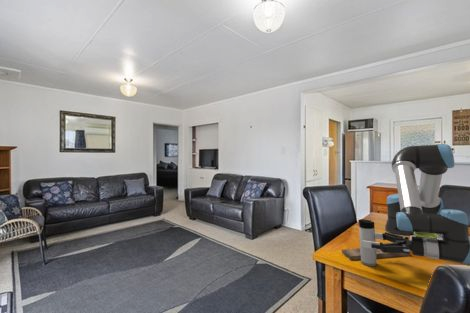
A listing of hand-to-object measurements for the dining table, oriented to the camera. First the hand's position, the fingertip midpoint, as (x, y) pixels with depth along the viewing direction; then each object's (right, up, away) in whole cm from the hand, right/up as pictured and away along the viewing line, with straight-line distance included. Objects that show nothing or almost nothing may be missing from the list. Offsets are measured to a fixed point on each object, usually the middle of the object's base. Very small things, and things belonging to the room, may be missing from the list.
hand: (364, 238), depth 107 cm
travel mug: (+1, -11, -1) cm, 11 cm away
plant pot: (+36, -10, +9) cm, 38 cm away
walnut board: (+10, -11, +8) cm, 17 cm away
